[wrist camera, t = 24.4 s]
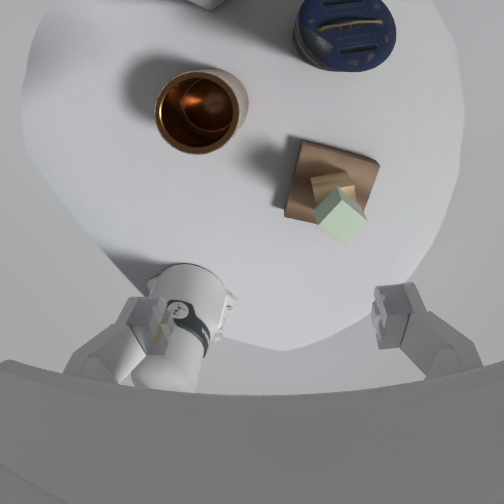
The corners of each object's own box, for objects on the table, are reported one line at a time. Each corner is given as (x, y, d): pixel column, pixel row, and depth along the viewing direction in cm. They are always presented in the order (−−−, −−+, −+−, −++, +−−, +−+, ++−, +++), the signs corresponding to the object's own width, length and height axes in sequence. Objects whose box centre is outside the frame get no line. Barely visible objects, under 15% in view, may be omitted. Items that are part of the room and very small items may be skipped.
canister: (359, 73, 36) (405, 80, 22) (293, 70, 37) (301, 71, 23) (357, 13, 31) (401, -14, 16) (289, 9, 32) (295, -26, 17)
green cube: (338, 227, 42) (343, 245, 38) (314, 209, 41) (317, 225, 37) (359, 205, 40) (367, 221, 36) (336, 185, 39) (341, 199, 35)
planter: (261, 85, 39) (256, 89, 31) (231, 148, 45) (220, 169, 37) (192, 59, 37) (170, 58, 29) (167, 123, 43) (142, 138, 35)
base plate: (352, 225, 50) (355, 232, 48) (284, 209, 50) (284, 216, 48) (375, 160, 44) (380, 165, 42) (301, 140, 43) (303, 144, 41)
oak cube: (351, 204, 46) (358, 221, 41) (316, 210, 47) (320, 227, 42) (346, 171, 43) (354, 185, 38) (310, 177, 44) (313, 192, 39)
